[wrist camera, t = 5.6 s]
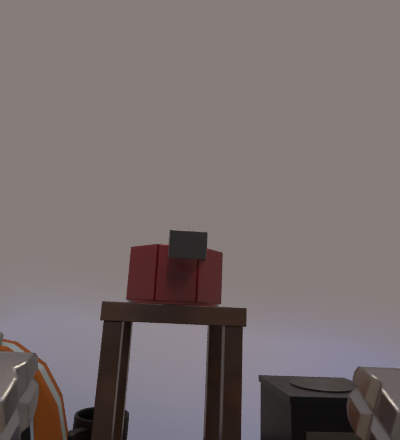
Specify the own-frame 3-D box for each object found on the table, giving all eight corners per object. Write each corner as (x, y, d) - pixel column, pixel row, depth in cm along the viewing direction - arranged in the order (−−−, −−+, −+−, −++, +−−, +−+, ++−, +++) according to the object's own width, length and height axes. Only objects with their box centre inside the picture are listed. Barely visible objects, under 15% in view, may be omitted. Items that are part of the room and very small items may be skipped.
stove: (348, 464, 64) (343, 376, 68) (410, 516, 48) (400, 397, 52) (258, 463, 63) (258, 373, 66) (291, 517, 47) (289, 394, 50)
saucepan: (211, 307, 40) (213, 260, 41) (271, 307, 18) (271, 208, 20) (131, 303, 39) (135, 256, 41) (93, 298, 18) (105, 195, 19)
